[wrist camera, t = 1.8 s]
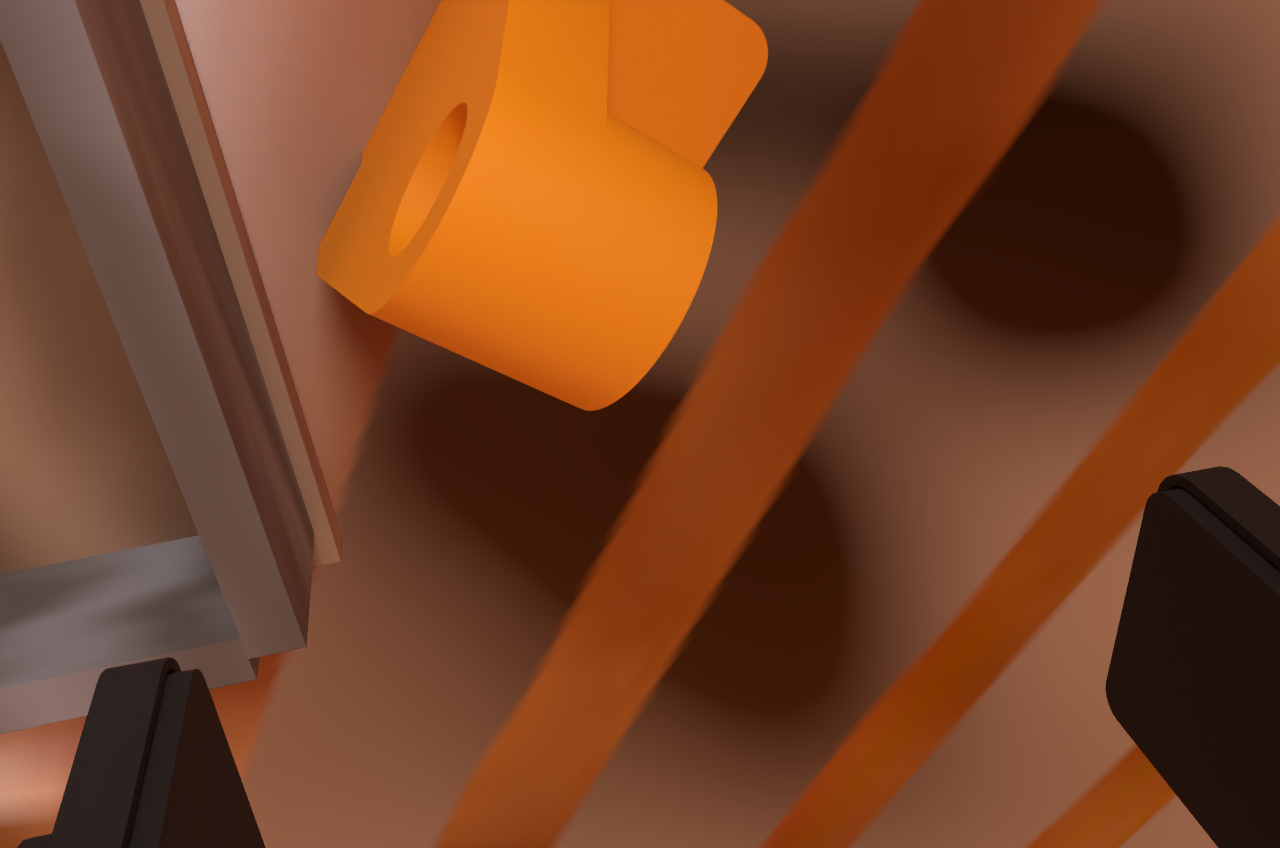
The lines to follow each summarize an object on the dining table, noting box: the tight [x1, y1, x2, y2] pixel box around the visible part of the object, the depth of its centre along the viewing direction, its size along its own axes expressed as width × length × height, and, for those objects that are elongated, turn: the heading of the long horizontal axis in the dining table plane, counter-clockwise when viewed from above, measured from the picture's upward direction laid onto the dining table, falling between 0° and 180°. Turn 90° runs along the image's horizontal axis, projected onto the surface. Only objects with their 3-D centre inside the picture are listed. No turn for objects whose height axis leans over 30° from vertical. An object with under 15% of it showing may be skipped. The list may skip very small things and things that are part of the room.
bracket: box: [316, 0, 768, 411], centre depth 24 cm, size 11×7×12 cm, turn 147°
